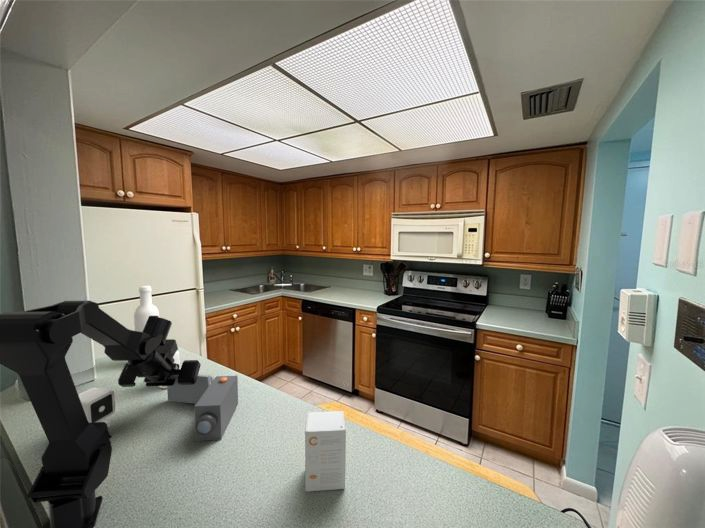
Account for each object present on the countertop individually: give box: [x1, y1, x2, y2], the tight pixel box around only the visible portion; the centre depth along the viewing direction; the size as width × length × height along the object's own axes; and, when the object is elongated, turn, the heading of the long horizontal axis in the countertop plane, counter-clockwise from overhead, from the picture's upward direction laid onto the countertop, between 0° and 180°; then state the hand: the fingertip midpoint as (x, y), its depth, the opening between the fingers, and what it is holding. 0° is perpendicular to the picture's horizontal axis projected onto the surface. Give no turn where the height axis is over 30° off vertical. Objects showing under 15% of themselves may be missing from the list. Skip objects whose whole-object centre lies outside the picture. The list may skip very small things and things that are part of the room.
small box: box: [304, 410, 347, 493], centre depth 59 cm, size 8×6×13 cm
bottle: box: [133, 285, 160, 332], centre depth 108 cm, size 8×8×30 cm
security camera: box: [78, 387, 116, 428], centre depth 71 cm, size 6×7×10 cm
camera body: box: [194, 375, 239, 442], centre depth 76 cm, size 17×8×10 cm, turn 6°
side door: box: [166, 373, 211, 405], centre depth 85 cm, size 13×2×9 cm, turn 82°
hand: (171, 382), depth 84 cm, fingers closed, pressing on side door
